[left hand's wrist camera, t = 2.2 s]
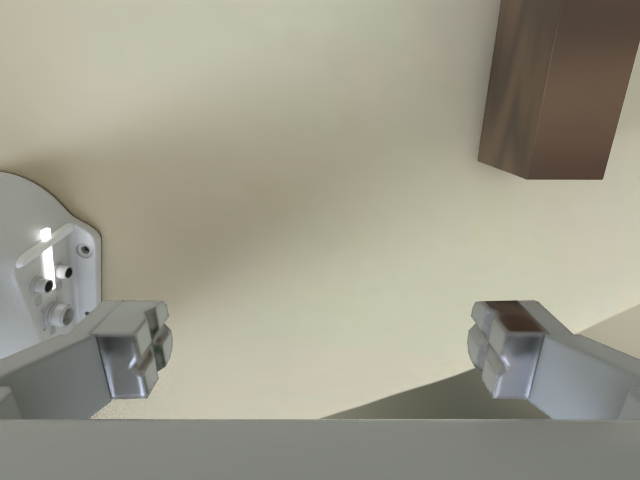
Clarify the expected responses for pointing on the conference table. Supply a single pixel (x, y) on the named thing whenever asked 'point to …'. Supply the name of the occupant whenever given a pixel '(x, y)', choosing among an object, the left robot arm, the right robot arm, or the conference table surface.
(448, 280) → the conference table surface
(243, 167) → the conference table surface
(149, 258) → the conference table surface
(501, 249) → the conference table surface
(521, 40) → the bar
